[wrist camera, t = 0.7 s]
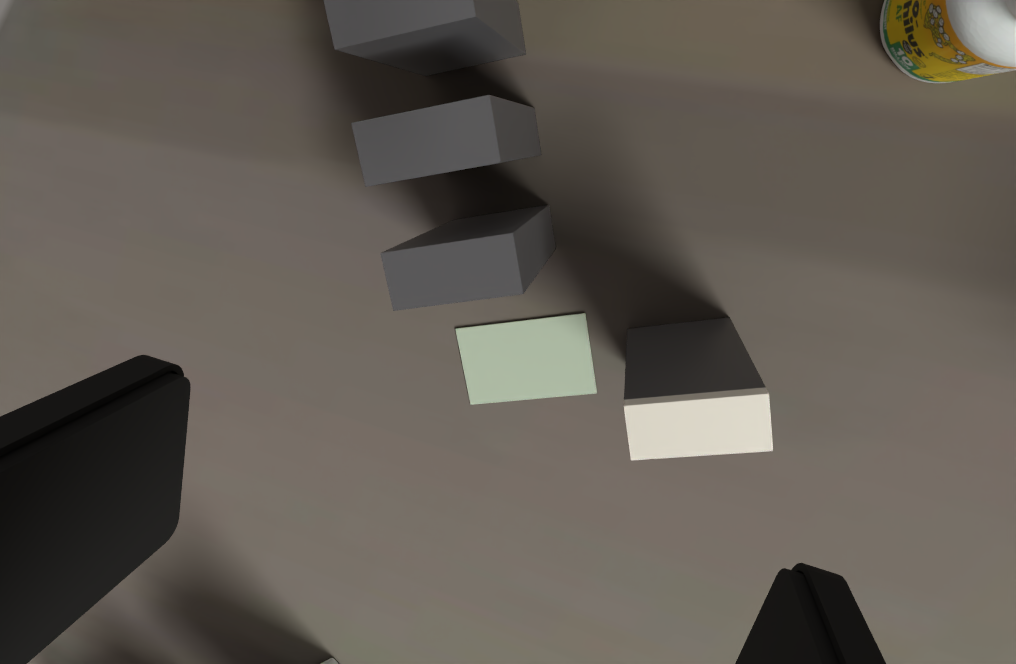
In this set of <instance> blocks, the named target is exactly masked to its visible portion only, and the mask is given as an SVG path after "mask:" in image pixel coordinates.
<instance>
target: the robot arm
mask: <svg viewBox="0 0 1016 664" xmlns="http://www.w3.org/2000/svg"><path fill="white" fill-rule="evenodd" d="M189 399H190V382H189V380H188V379H187V378H186V377H184V373H183V371H182V368H181V367H180V366H178V365H176V364H172V363H169V362H166V361H163V360H160V359H157V358H153V357H150V356H147V355H140V356H136V357H134V358H132V359H130V360H127V361H125V362H123V363H121V364H118V365H116V366H114V367H112V368H109V369H107V370H105V371H102V372H100V373H98V374H96V375H93V376H91V377H89V378H87V379H84V380H82V381H80V382H78V383H75V384H73V385H71V386H68V387H66V388H64V389H62V390H59V391H57V392H55V393H53V394H50V395H48V396H46V397H44V398H41V399H39V400H37V401H35V402H32V403H30V404H28V405H25V406H23V407H21V408H19V409H16V410H14V411H12V412H10V413H7V414H5V415H3V416H1V417H0V664H27V663H28V662H29V661H30V660H31V659H32V658H34V657H35V656H36V655H37V654H38V653H39V652H41V651H42V650H43V649H44V648H45V647H46V646H47V645H49V644H50V643H51V642H52V641H53V640H54V639H55V638H57V637H58V636H59V635H60V634H61V633H62V632H64V631H65V630H66V629H67V628H68V627H69V626H70V625H72V624H73V623H74V622H75V621H76V620H77V619H78V618H80V617H81V616H82V615H83V614H84V613H85V612H87V611H88V610H89V609H90V608H91V607H92V606H93V605H95V604H96V603H97V602H98V601H99V600H100V599H101V598H103V597H104V596H105V595H106V594H107V593H108V592H110V591H111V590H112V589H113V588H114V587H115V586H116V585H118V584H119V583H120V582H121V581H122V580H123V579H125V578H126V577H127V576H128V575H129V574H130V573H131V572H133V571H134V570H135V569H136V568H137V567H138V566H139V565H141V564H142V563H143V562H144V561H145V560H146V559H148V558H149V557H150V556H151V555H152V554H153V553H154V552H156V551H157V550H158V549H159V548H160V547H161V546H162V545H164V544H165V543H166V542H167V541H168V540H169V539H170V537H171V536H172V534H173V533H174V531H175V529H176V527H177V524H178V520H179V512H180V501H181V490H182V478H183V467H184V456H185V444H186V433H187V422H188V411H189ZM735 664H886V663H885V661H884V658H883V656H882V654H881V652H880V650H879V648H878V646H877V644H876V642H875V640H874V638H873V636H872V634H871V632H870V630H869V628H868V626H867V623H866V621H865V619H864V617H863V615H862V613H861V611H860V609H859V607H858V605H857V603H856V601H855V599H854V597H853V595H852V593H851V591H850V588H849V586H848V584H847V582H846V581H845V579H844V578H843V577H842V576H840V575H838V574H835V573H832V572H829V571H825V570H822V569H819V568H816V567H813V566H810V565H806V564H803V563H798V564H796V565H795V566H794V567H793V568H792V570H789V569H786V568H784V569H781V570H780V571H779V572H778V574H777V576H776V578H775V580H774V582H773V584H772V586H771V589H770V591H769V593H768V595H767V597H766V599H765V601H764V603H763V606H762V608H761V610H760V612H759V614H758V616H757V618H756V621H755V623H754V625H753V627H752V629H751V631H750V633H749V636H748V638H747V640H746V642H745V644H744V646H743V648H742V651H741V653H740V655H739V657H738V659H737V661H736V663H735Z"/></svg>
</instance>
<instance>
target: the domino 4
mask: <svg viewBox="0 0 1016 664" xmlns="http://www.w3.org/2000/svg"><path fill="white" fill-rule="evenodd" d="M624 411H625V419H626V426H627V434H628V441H629V449H630V456H631V460H643V459H658V458H673V457H689V456H704V455H719V454H734V453H749V452H764V451H773V443H772V429H771V416H770V402H769V393H768V391H767V389H766V387H765V385H764V383H763V381H762V379H761V377H760V375H759V373H758V371H757V370H756V368H755V366H754V364H753V362H752V360H751V358H750V356H749V354H748V352H747V350H746V348H745V346H744V344H743V342H742V340H741V338H740V337H739V335H738V333H737V331H736V329H735V327H734V325H733V323H732V321H731V319H730V317H728V318H719V319H710V320H701V321H693V322H684V323H675V324H666V325H657V326H648V327H639V328H630V329H627V347H626V368H625V390H624Z"/></svg>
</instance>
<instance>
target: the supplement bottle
mask: <svg viewBox="0 0 1016 664" xmlns="http://www.w3.org/2000/svg"><path fill="white" fill-rule="evenodd" d="M880 36H881V40H882V44H883V47H884V49H885V51H886V52H887V54H888V55H889V57H890V58H891V60H892V61H893V62H894V64H895V65H896V66H897V67H898V68H899V69H900V70H901V71H902V72H904V73H905V74H907V75H908V76H910V77H911V78H914V79H916V80H920V81H924V82H929V83H949V82H955V81H961V80H966V79H971V78H976V77H982V76H987V75H992V74H997V73H1002V72H1008V71H1013V70H1016V0H884V3H883V7H882V11H881V16H880Z"/></svg>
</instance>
